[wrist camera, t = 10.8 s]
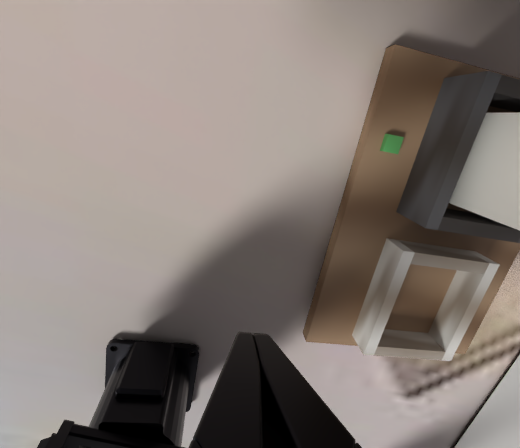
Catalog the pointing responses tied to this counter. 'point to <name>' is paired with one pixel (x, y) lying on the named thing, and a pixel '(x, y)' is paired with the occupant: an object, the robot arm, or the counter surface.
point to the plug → (493, 171)
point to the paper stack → (497, 416)
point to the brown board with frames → (415, 217)
